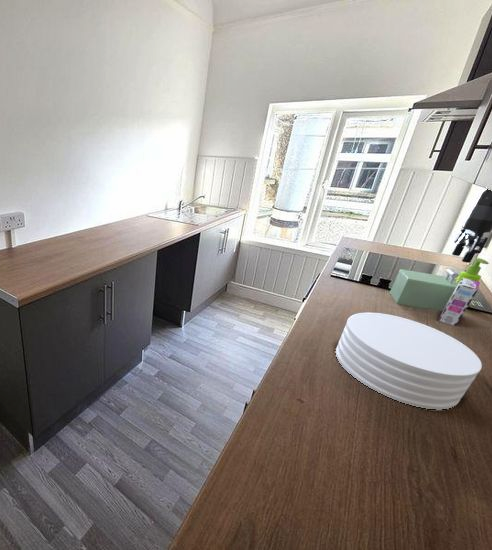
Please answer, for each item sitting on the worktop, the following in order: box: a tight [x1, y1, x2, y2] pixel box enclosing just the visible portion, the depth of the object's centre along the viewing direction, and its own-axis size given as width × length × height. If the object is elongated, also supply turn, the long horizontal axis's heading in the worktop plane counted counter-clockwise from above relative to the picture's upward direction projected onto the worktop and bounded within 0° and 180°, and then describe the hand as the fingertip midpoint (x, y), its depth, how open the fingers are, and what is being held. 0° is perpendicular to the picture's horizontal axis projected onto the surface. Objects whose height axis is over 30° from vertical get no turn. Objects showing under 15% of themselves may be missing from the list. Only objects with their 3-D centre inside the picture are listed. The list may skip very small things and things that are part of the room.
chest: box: [389, 270, 455, 312], centre depth 124 cm, size 16×12×11 cm
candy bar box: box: [437, 278, 481, 327], centre depth 110 cm, size 11×5×16 cm, turn 130°
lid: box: [399, 268, 459, 289], centre depth 121 cm, size 16×12×5 cm
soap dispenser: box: [455, 257, 490, 284], centre depth 123 cm, size 6×7×20 cm
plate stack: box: [334, 311, 483, 411], centre depth 84 cm, size 28×28×12 cm
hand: (460, 258), depth 115 cm, fingers open, 8 cm apart
